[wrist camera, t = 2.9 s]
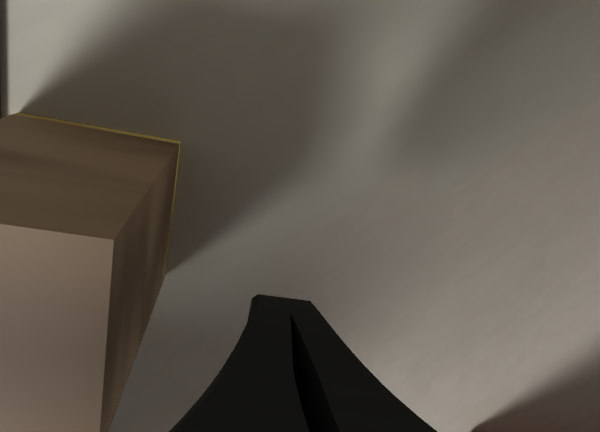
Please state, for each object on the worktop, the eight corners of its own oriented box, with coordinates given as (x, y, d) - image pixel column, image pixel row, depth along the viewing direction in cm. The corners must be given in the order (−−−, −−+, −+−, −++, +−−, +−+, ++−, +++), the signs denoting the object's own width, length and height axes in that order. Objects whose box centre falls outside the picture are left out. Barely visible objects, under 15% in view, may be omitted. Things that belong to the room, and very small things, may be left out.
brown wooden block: (165, 274, 17) (97, 459, 10) (18, 255, 16) (-179, 440, 9) (181, 141, 15) (114, 240, 8) (18, 112, 15) (-227, 191, 7)
